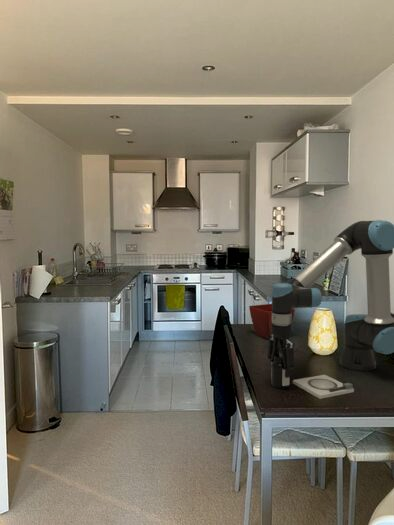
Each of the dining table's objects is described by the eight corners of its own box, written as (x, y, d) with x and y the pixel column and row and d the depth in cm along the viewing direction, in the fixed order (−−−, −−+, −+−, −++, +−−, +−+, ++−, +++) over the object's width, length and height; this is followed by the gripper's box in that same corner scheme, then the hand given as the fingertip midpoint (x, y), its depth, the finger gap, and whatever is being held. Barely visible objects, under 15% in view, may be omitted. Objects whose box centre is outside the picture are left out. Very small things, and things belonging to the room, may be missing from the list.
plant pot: (247, 333, 231) (248, 305, 230) (274, 330, 239) (275, 303, 238) (266, 342, 214) (267, 311, 213) (295, 338, 222) (295, 308, 221)
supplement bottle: (286, 381, 158) (287, 352, 157) (290, 388, 151) (291, 358, 150) (269, 382, 157) (269, 352, 156) (273, 388, 151) (273, 358, 150)
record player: (324, 377, 163) (324, 370, 163) (353, 391, 148) (354, 384, 148) (292, 383, 156) (292, 376, 156) (319, 398, 142) (320, 391, 142)
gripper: (259, 319, 160) (258, 374, 162) (288, 330, 142) (287, 392, 143) (274, 317, 163) (273, 372, 165) (305, 328, 145) (304, 389, 146)
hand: (280, 381), depth 154 cm, fingers closed on supplement bottle, 7 cm apart
